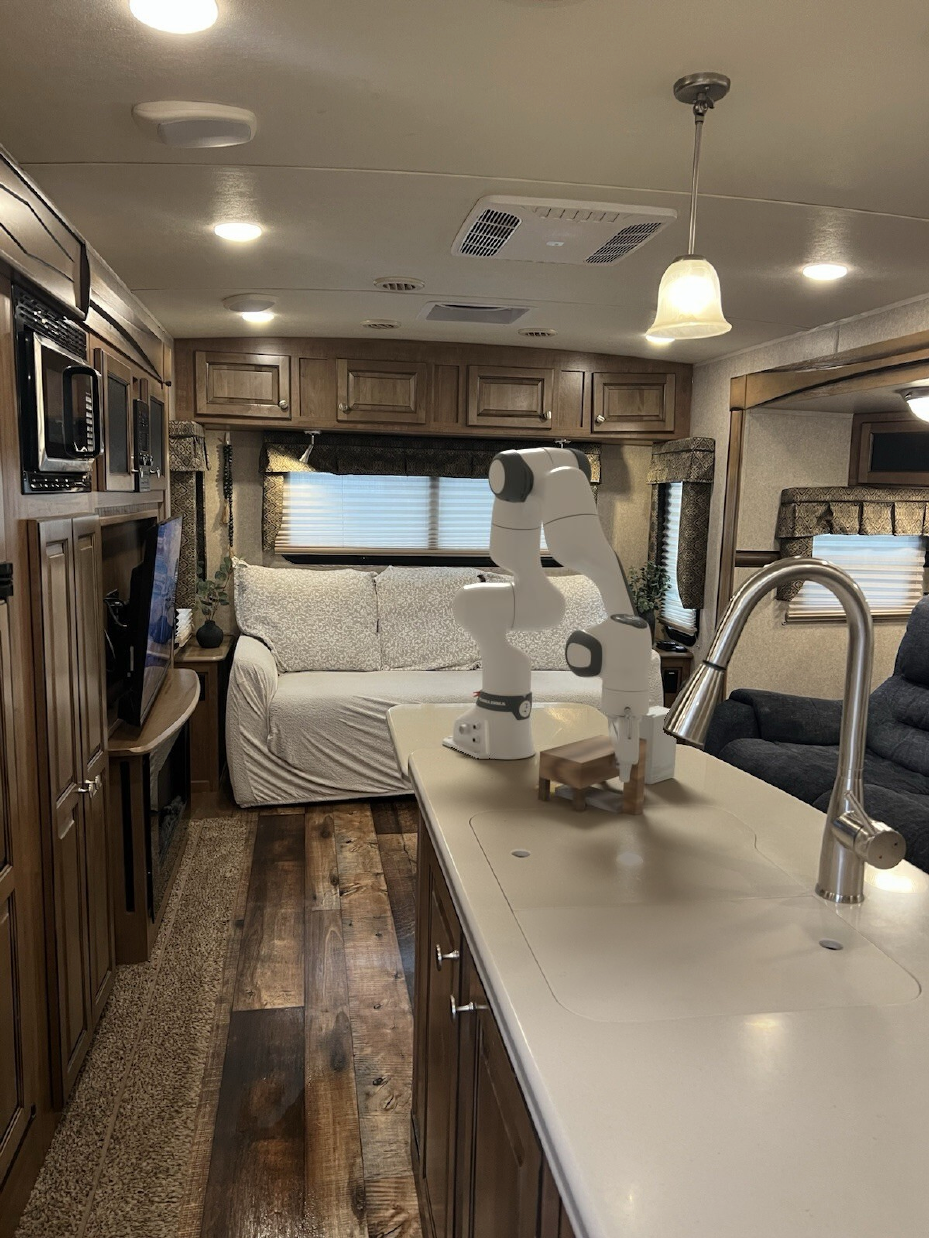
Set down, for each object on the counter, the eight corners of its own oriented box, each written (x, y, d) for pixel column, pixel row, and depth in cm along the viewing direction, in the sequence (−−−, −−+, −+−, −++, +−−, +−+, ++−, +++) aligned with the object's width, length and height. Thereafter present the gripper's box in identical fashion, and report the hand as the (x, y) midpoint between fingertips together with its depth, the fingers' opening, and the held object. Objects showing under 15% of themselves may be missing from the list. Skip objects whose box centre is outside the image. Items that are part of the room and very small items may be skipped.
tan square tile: (534, 791, 185) (534, 786, 185) (549, 786, 188) (550, 781, 188) (554, 797, 181) (554, 792, 181) (569, 791, 185) (569, 787, 185)
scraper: (647, 809, 174) (651, 737, 172) (630, 817, 170) (634, 743, 168) (572, 788, 186) (575, 720, 184) (554, 794, 181) (557, 725, 179)
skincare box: (653, 771, 199) (657, 704, 197) (675, 778, 194) (680, 710, 192) (627, 778, 194) (631, 709, 192) (650, 785, 189) (654, 715, 187)
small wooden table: (537, 799, 178) (539, 751, 177) (599, 778, 192) (601, 734, 191) (579, 812, 171) (581, 762, 170) (639, 790, 185) (642, 744, 184)
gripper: (649, 715, 160) (645, 792, 162) (636, 691, 180) (633, 760, 182) (612, 714, 161) (609, 790, 162) (604, 690, 181) (601, 758, 183)
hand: (621, 774), depth 172 cm, fingers open, 7 cm apart
